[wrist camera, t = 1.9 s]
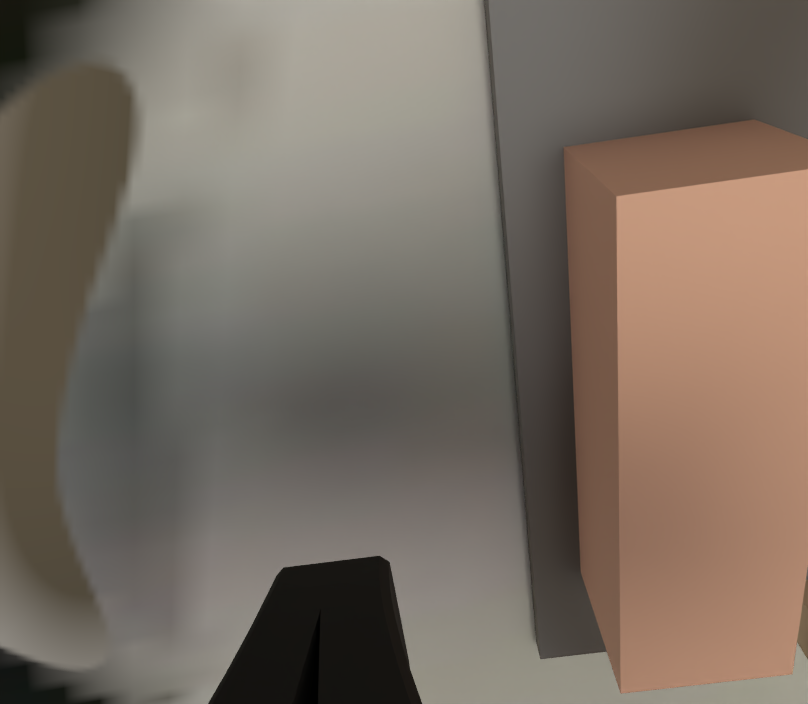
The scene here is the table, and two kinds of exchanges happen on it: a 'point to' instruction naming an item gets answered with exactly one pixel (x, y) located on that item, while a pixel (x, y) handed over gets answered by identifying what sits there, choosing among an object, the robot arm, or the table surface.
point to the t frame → (546, 204)
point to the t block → (691, 398)
